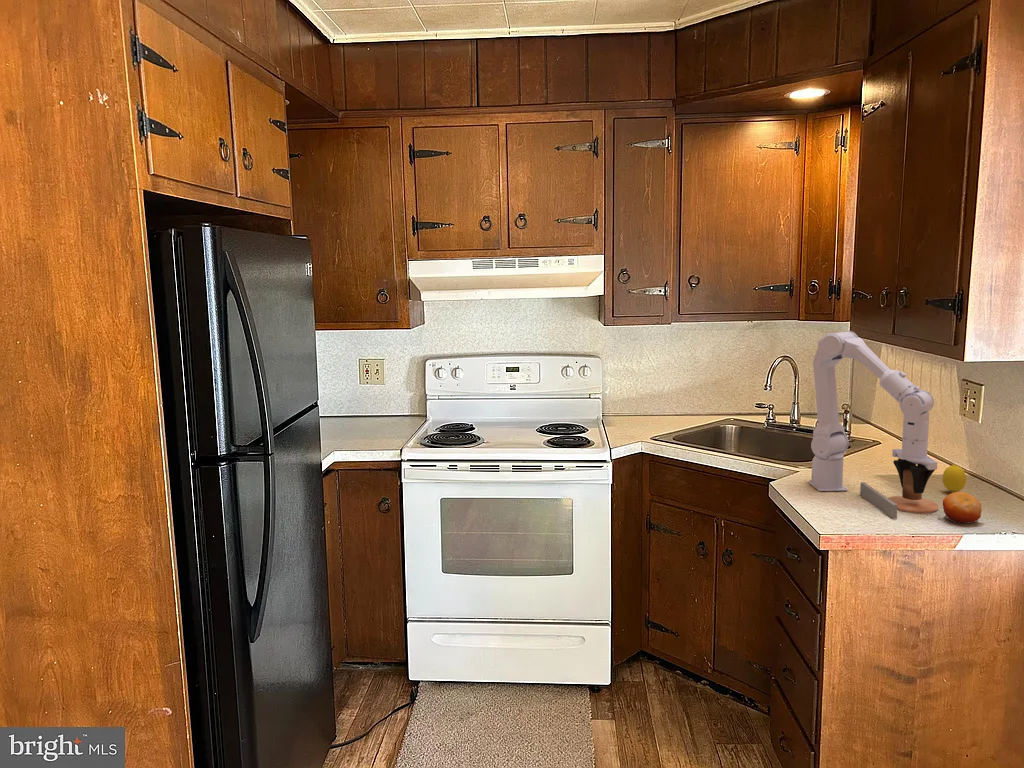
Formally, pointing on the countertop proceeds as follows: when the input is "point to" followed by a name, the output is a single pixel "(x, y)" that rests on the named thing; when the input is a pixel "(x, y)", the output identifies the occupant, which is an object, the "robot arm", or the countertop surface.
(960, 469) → the lemon
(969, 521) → the fruit
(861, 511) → the countertop surface
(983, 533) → the countertop surface
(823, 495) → the countertop surface
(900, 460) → the robot arm
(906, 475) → the walnut cylinder
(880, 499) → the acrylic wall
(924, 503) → the saucer
